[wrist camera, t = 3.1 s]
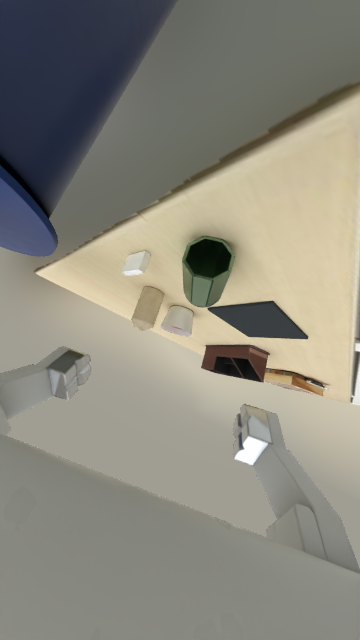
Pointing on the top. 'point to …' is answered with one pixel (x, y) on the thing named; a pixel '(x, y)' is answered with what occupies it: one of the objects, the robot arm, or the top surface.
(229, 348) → the desk organizer
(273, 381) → the wooden box
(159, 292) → the candle
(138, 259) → the eraser
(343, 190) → the top surface
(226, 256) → the bucket
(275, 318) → the mat
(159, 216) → the top surface
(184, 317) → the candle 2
